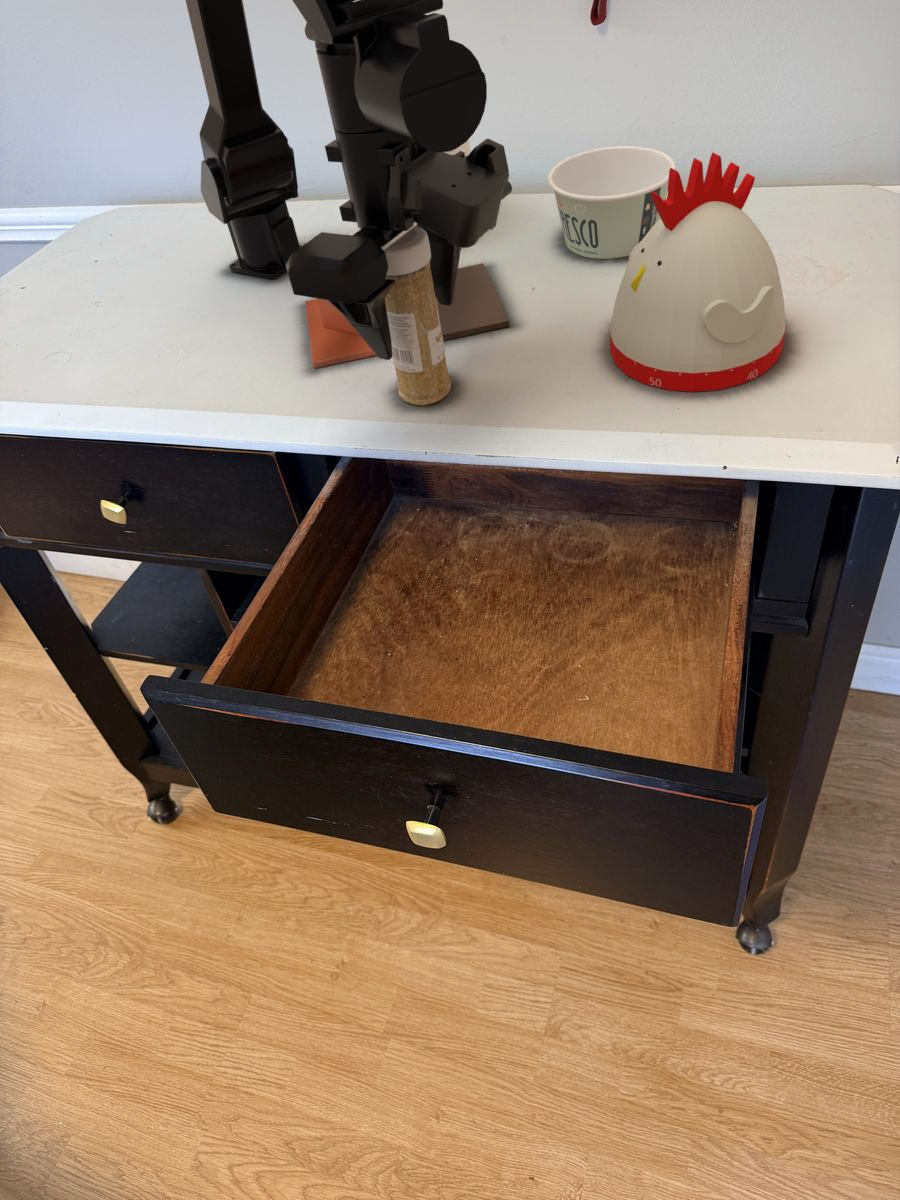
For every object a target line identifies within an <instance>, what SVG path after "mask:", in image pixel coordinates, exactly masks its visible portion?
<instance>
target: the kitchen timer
mask: <svg viewBox="0 0 900 1200" xmlns="http://www.w3.org/2000/svg"><path fill="white" fill-rule="evenodd" d="M739 173H740V165H738V164H736V163H734V162H732V161H731V162H730V163H729V164H728V165H727V168H726V169H725V172H724V173H723V165H722V156H721V155H719V154H718V153H715V152H711V154H710V157H709V161H708V165H707V168H706V173H705V177H704V165H703V162H702V161H701V160H699V159H697V158H696V157H694V158H693V159H692V163H691V167H690V169H689V174H688V180H687V183H686V184H687V185H686V188H685V190H684V185H683V183H682V178H681V174H680V172H679V171H677V169H676V170H674V169H673V168H670V171H669V179H668V191H667V196H666V200H664V201H663V199H662V198H661V197H660V196H659V195H658V194H656V193H655V192H653V191H651V196H652V200H653V203H654V205H655V207H656V209H657V211H658V214H659V216H660V219H659V220H658V221H657V222H656V223H655V225H654V226H653V227H652V228H651V229H650V230H649V232H648V233H647V234H646V236H645V237H644V238H643V239H642V241H641V242H640V243H638V244H637V245H636V246H635V247H634V249H633V250H632V252H631V253H630V256H628V262H627V265H626V267H625V269H624V272H623V276H622V279H621V281H620V284H619V288H618V291H617V294H616V298H615V301H614V304H613V310H612V316H611V321H610V322H611V323H610V328H609V353H610V355H611V357H612V360H613V362H614V364H615V365H616V366H617V367H618V369H620V370H621V371H622V373H624V374H625V375H626V376H628V377H630V378H631V379H633V380H636V381H638V382H640V383H642V384H644V385H647V386H651V387H655V388H659V389H662V390H667V391H678V392H691V393H693V392H707V391H708V392H709V391H719V390H724V389H728V388H732V387H735V386H739V385H744V384H745V383H747V382H750V381H752V380H753V379H756V378H758V377H760V376H763V375H764V374H765V373H766V372H767V371H768V370H770V369H771V368H772V367H773V366H774V365H775V364H777V362H778V360H779V358H780V356H781V354H782V352H783V350H784V342H785V337H786V336H785V335H786V311H785V310H786V309H785V299H784V293H783V286H782V282H781V278H780V277H781V276H780V273H779V269H778V268H779V267H778V265H777V261H776V258H775V255H774V253H773V251H772V248H771V246H770V245H769V243H768V241H767V239H766V238H765V236H764V235H763V233H762V232H761V230H760V229H759V228H758V226H757V225H756V223H755V222H754V221H753V219H752V218H751V217H749V215H747V214H746V212H744V211H743V208H744V206H745V205H746V202H747V201H748V198H749V197H750V194H751V191H752V189H753V186H754V183H755V180H756V177H755V176H753V175H752V174H750V173H749V172H748V173H746V174H745V175H744V176H743V179H742V180H741V182H740V184H739V186H738V187H737V189H736V190H735V187H736V183H737V180H738V176H739Z"/></svg>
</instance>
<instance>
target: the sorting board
mask: <svg viewBox="0 0 900 1200" xmlns="http://www.w3.org/2000/svg"><path fill="white" fill-rule="evenodd" d="M435 298H436V301H437V307H438V313H439V319H440V325H441V331H442V336H443V342H444V341H448V340H452V339H458V338H462V337H467V336H472V335H476V334H480V333H485V332H490V331H494V330H500V329H504V328H508V327H511V321H510V319H509V317H508V315H507V312H506V310H505V308H504V306H503V303H502V301H501V299H500V297H499V295H498V292H497V291H496V287H495V286H494V284H493V281H492V279H491V277H490V275H489V273H488V271H487V268H486V266H485V264H484V263H483V262H482V263H478V264H477V263H476V264H473V265H468V266H464V267H458V271H457V278H456V284H455V291H454V298H453V303H452V304H451V305H450V306H446V305H441V304H440V303H439V301H438V299H437V297H436V295H435ZM304 303H305V304H304V305H305V310H306V320H307V329H308V335H309V336H308V337H309V343H310V351H311V360H312V365H313V366H312V367H313V368H314V369H318V368H324V367H329V366H331V365H337V364H341V363H346V362H350V361H357V360H360V359H365V358H369V357H374V356H377V355H376V354H375V353H374V351H373V350H372V349H371V348H370V347H369V345H368V344H367V343H366V342H365V341H364V339H363V338H362V337H361V336H360V335H357V334H353V333H348V332H343V331H339V330H334V329H329V328H325V327H324V326H323V322H322V318H321V314H320V310H319V307H318V303H317V299H316V298H312V299H309V300H305V301H304Z"/></svg>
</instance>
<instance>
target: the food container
mask: <svg viewBox="0 0 900 1200" xmlns="http://www.w3.org/2000/svg"><path fill="white" fill-rule="evenodd" d="M670 168H673V169H674V170H676V171H677V167H676V163H675V161H674V159H673V158H672V157H671V156H670V155H668V154H666V153H665V152H662V151H660V150H658V149H654V148H650V147H644V146H634V145H617V146H607V147H606V146H605V147H600V148H599V147H598V148H595V149H590V150H585V151H582V152H579V153H577V154H574V155H571V156H568V157H567V158H564V159H563V160H561V161H560V162H558V163H557V164H556V165H554V166H553V167H552V169H551V170H550V171H549V173H548V175H547V176H548V177H547V183H548V186H549V187H550V188H551V190H553V192H554V193H553V194H554V197H555V202H556V206H557V211H558V215H559V221H560V224H561V228H562V232H563V233H562V234H563V238H564V242H565V245H566V247H567V248H568V249H569V251H571V252H572V253H574V254H575V255H577V256H581V257H584V258H590V259H597V260H610V259H621V258H625V257H629V256H630V253H631V252H632V250H633V249H634V247H635V246H636V245H637V244H638V243H640V242H641V241H642V239H643V238H644V237H645V236H646V234H647V233H648V232H649V230H650V229H651V228H652V227H653V226H654V225H655V223H656V222H657V221H658V220H659V219H660V216H659V214H658V211H657V209H656V207H655V205H654V203H653V200H652V196H651V191H653V192H655V193H656V194H658V195H659V196H660V197H661V198H662V199H663V201H664V200H666V199H667V194H668V179H669V171H670Z"/></svg>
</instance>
